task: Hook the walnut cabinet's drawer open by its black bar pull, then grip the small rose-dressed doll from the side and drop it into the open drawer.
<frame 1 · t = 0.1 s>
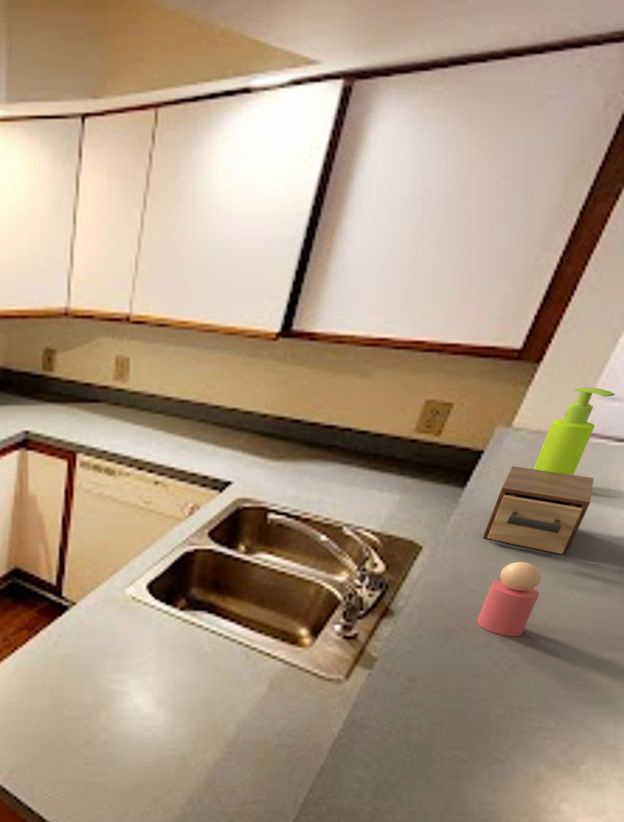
doll: (499, 626, 84), on the countertop
drawer: (534, 516, 104), point 5 cm above the countertop, slide at 1.0 cm
cabinet: (527, 532, 109), on the countertop
soap dispenser: (549, 487, 127), on the countertop
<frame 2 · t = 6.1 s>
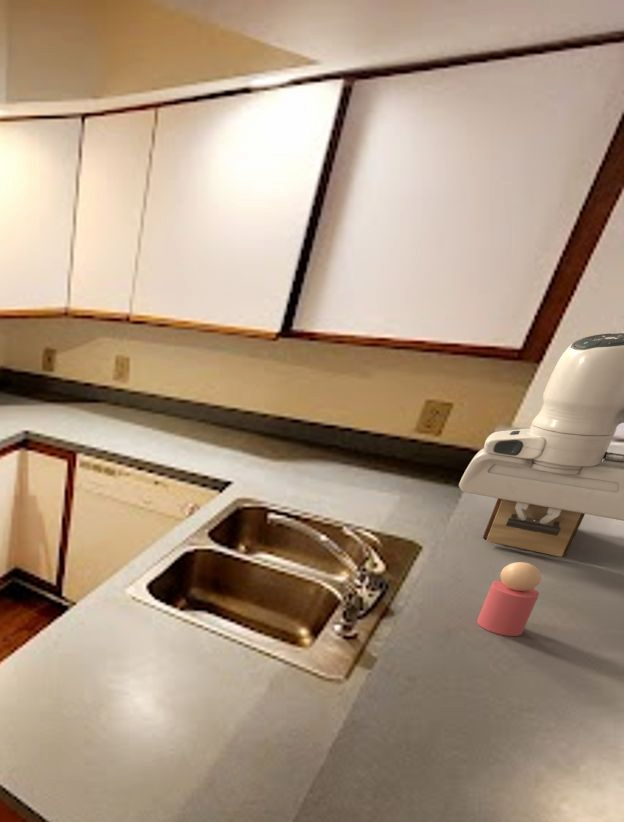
hand: (528, 529, 99), 5 cm above the countertop, tool pointing down, fingers closed
drawer: (534, 519, 103), point 5 cm above the countertop, slide at 2.3 cm, touching gripper
everything else where it was.
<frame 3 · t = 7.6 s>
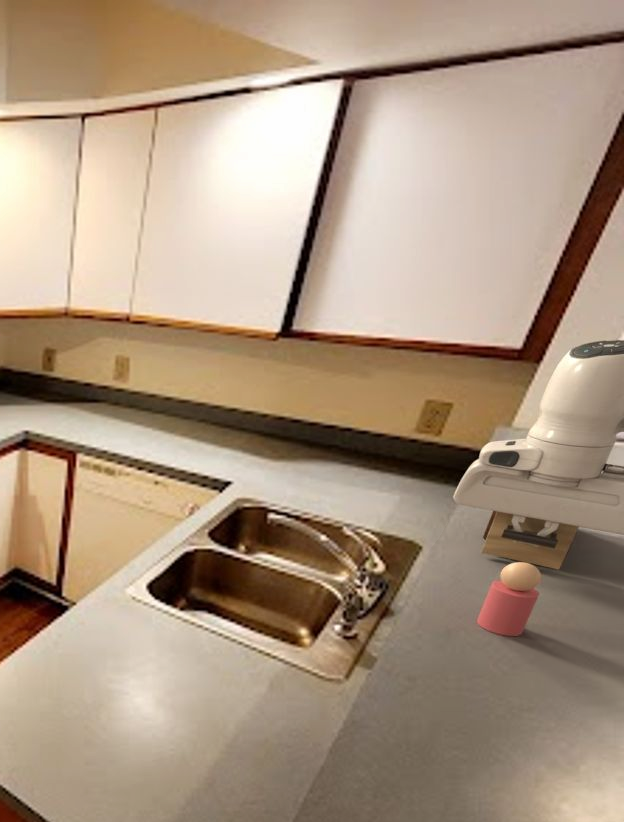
hand: (525, 543, 96), 5 cm above the countertop, tool pointing down, fingers closed
drawer: (530, 529, 100), point 5 cm above the countertop, slide at 8.1 cm, touching gripper
everything else where it was.
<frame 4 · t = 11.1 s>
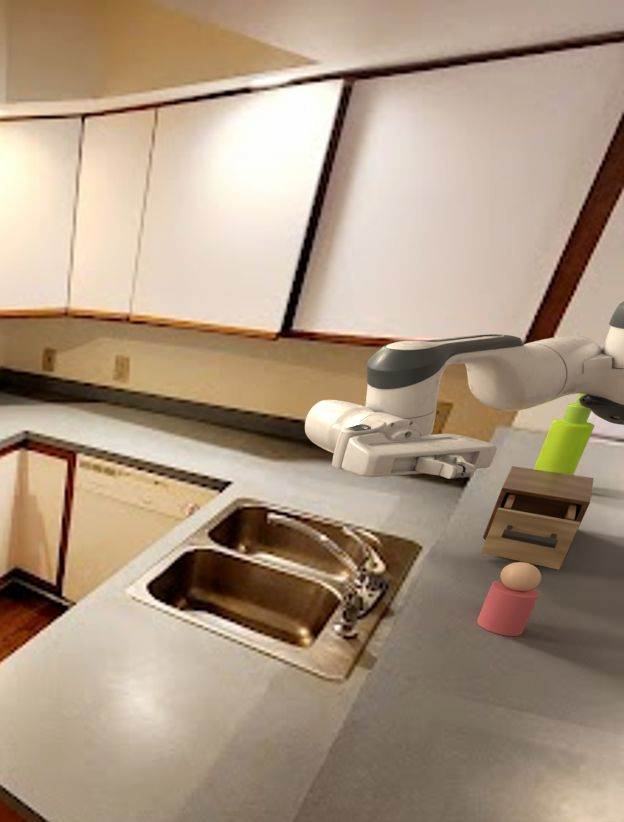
hand: (463, 472, 88), 18 cm above the countertop, tool horizontal, fingers closed
drawer: (530, 530, 100), point 5 cm above the countertop, slide at 8.1 cm
everything else where it was.
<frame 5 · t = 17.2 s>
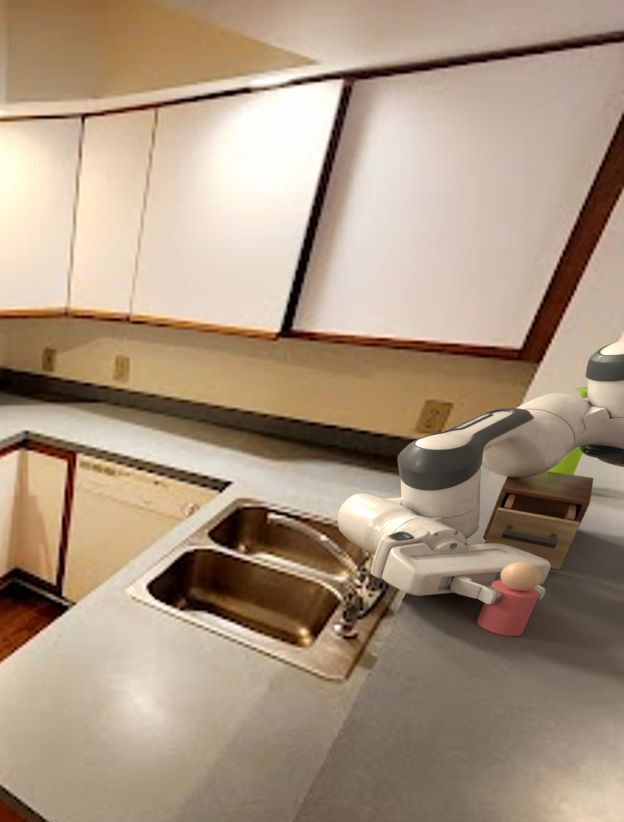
hand: (517, 597, 82), 5 cm above the countertop, tool horizontal, fingers closed on doll, 4 cm apart
doll: (499, 626, 84), on the countertop, touching gripper
everything else where it was.
when the fingers open (13 cm above the countertop, at t = 25.3 s): doll drops 6 cm, resting on drawer.
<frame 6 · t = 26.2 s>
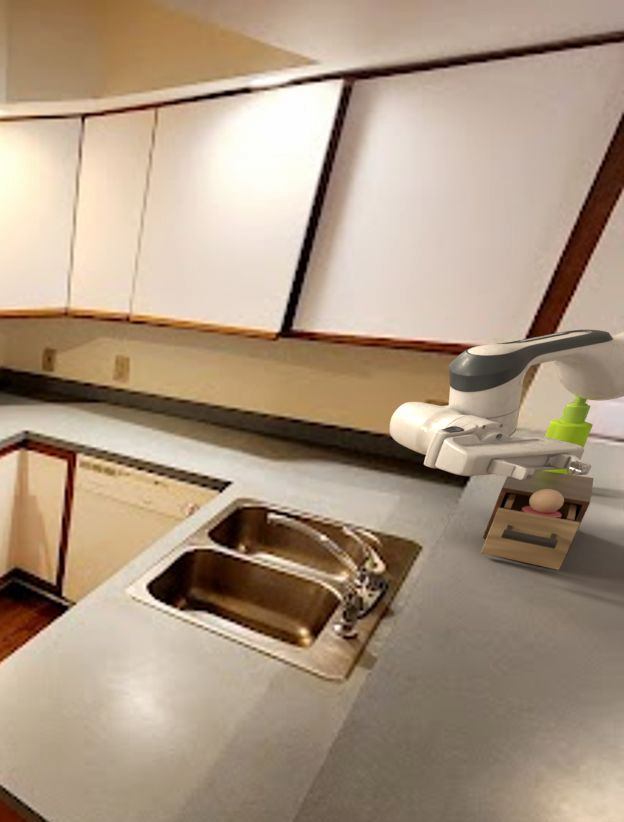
hand: (557, 472, 95), 15 cm above the countertop, tool horizontal, fingers open, 8 cm apart
doll: (527, 545, 101), point 2 cm above the countertop, touching drawer
drawer: (530, 530, 100), point 5 cm above the countertop, slide at 8.2 cm, touching doll
soap dispenser: (549, 487, 127), on the countertop, touching arm
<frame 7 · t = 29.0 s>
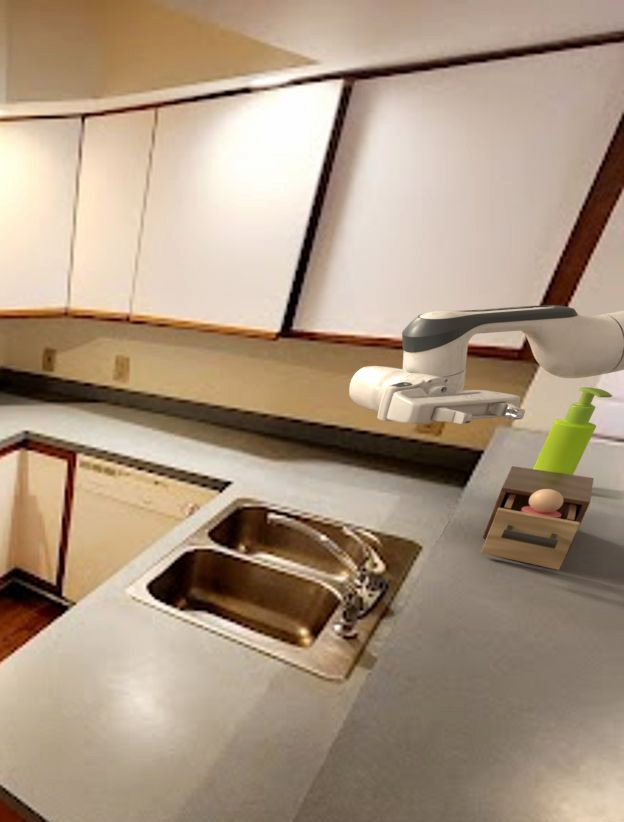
hand: (493, 417, 104), 20 cm above the countertop, tool horizontal, fingers open, 8 cm apart
soap dispenser: (548, 486, 127), on the countertop
everything else where it was.
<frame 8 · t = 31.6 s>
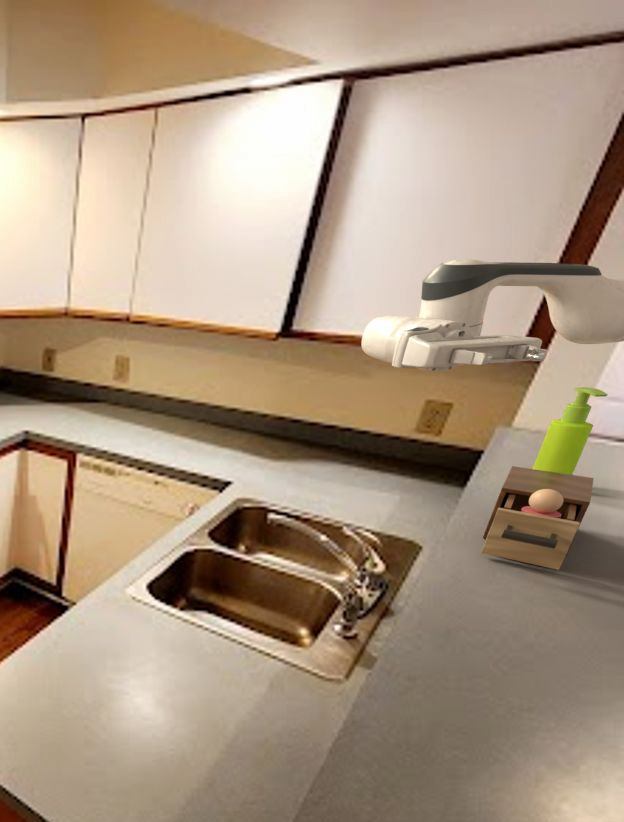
hand: (515, 357, 100), 30 cm above the countertop, tool horizontal, fingers open, 8 cm apart
nothing on the countertop moved.
at the end: drawer slide at 8.2 cm; doll inside the target area in the drawer (0.2 cm from its centre), point 1.9 cm above the cabinet's base; the gripper is holding nothing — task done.
